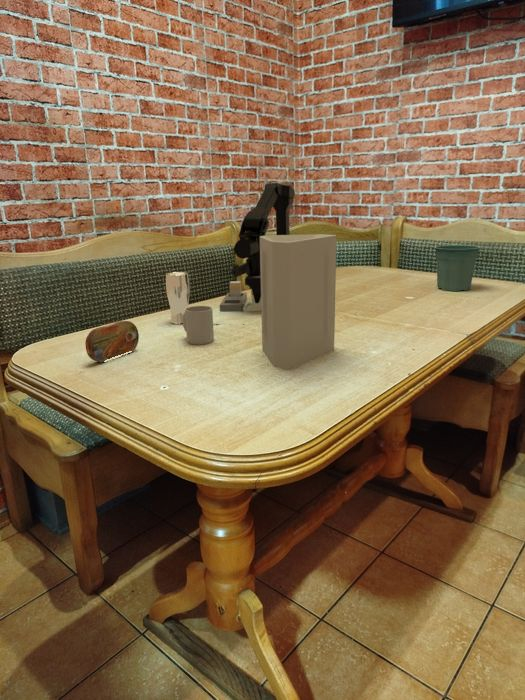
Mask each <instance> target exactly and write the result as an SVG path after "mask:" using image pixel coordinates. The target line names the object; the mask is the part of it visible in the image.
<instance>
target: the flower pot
mask: <svg viewBox="0 0 525 700" xmlns="http://www.w3.org/2000/svg"><path fill="white" fill-rule="evenodd" d="M434 249H435V259H436V282H437V283H436V286H437V287H438V288H441V289H440V290H441V291H442V290H443V291H447V290H449V291H448V292H461V291H469V290H470V289H471V287H472V282H473V277H474V271H475V268H476V267H475V266H476V260H477V258H478V254H479V250H480V249H481V246H478V245H470V244H469V245H468V244H466V245H465V244H444V245H437V246H434ZM438 288H437V289H438Z"/></svg>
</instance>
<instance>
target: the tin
mask: <svg viewBox="0 0 525 700" xmlns="http://www.w3.org/2000/svg"><path fill="white" fill-rule="evenodd" d="M139 339H140V334H139V329H138V328H137V326H136V325H135V324H134V322H131V321H128V320H119V321H115V322H112V323H108V324H105V325H103V326H99V327H96V328H93V329H92V330H91V331H90V332H89V333H88V334H87V336H86V339H85V342H84V343H85V350H86V354H87V356H88V358H90V359H91V360H92V361H95V362H98V361H99V363H103V362H104V361H105V360H107V359H110V358H112V357H115V356H118V355H121V354H124V353H126V352H129V351H133V350H134V351H135V350H136V349H137V347H138V344H139ZM134 351H133V352H134Z"/></svg>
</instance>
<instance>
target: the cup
mask: <svg viewBox="0 0 525 700" xmlns="http://www.w3.org/2000/svg"><path fill="white" fill-rule="evenodd" d="M213 315H214V314H213V307H212V306H209V305H208V306H207V305H194V306H193V305H192V306H188V308H186V309H185V313H184V314H183V324H182V327H183V329H184V331H185V333H186V339H187V342H189V343H188V344H191V345H194V344H195V345H198V346H201V345H202V346H203V345H207V344H211V343H213V342H214V340H215V335H214V332H215V331H214V316H213Z"/></svg>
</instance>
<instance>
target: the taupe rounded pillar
mask: <svg viewBox="0 0 525 700" xmlns="http://www.w3.org/2000/svg"><path fill="white" fill-rule="evenodd" d="M337 237H338V236H337V235H336V234H323V233H321V234H319V233H318V234H289V235H276V234H275V235H272V234H271V235H265V236H260V272H261V311H260V312H261V342H262V343H261V347H262V349H261V351H262V352H263V354H264V355H265V356H266V357H267V359H268V361H269V362H270V364H271V365H272V366H273V367H275V368H277V369H282V370H285V371H292V370H294V369H296V368H299V367H302V366H303V365H305V364H307V363H310V362H312V361H314V360H316V359H318V358H321V357H322V356H324V355H327V354H329V353H331V352H333V351H335V328H336V326H335V324H336V323H335V322H336V284H337V283H336V282H337V281H336V279H337V277H336V276H337V271H336V270H337Z"/></svg>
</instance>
